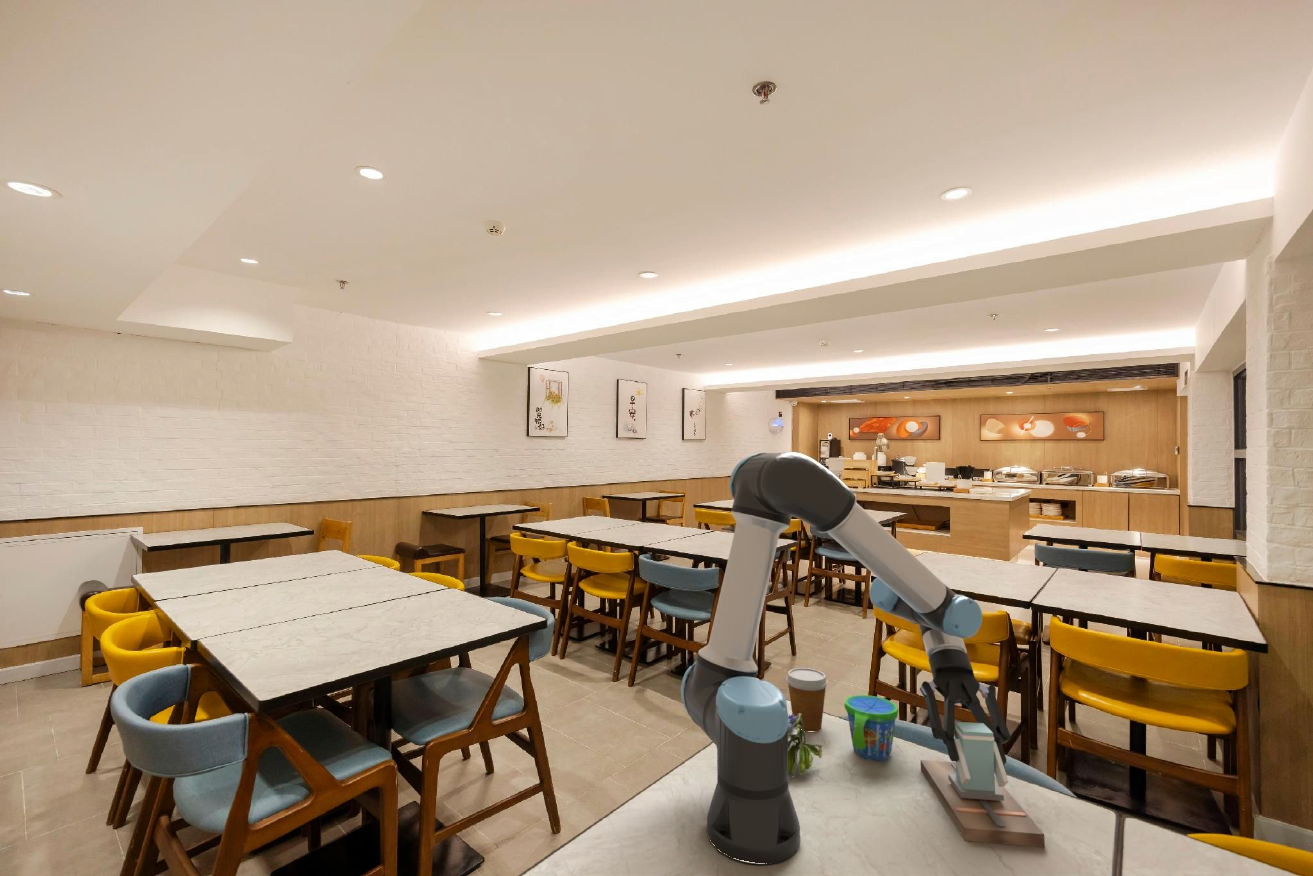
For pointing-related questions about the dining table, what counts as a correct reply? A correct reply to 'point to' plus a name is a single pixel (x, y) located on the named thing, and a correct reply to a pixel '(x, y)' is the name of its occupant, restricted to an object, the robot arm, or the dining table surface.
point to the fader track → (982, 811)
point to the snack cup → (871, 725)
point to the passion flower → (800, 746)
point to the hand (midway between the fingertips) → (984, 782)
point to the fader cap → (976, 762)
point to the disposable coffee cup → (807, 696)
